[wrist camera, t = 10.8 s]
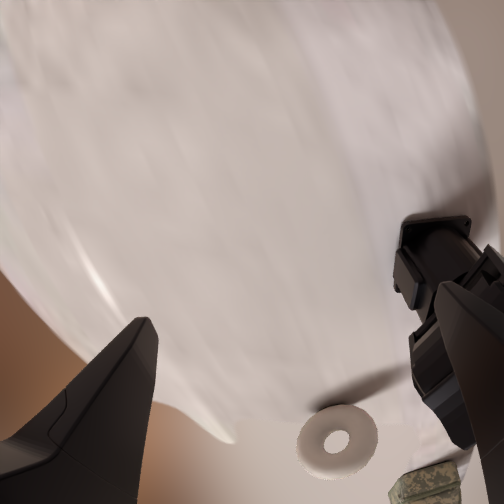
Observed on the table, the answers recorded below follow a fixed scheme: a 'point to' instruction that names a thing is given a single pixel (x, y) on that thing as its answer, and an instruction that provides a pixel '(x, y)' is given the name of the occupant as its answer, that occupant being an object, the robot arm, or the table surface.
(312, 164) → the table surface
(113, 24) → the table surface
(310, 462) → the donut
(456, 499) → the lunch bag
